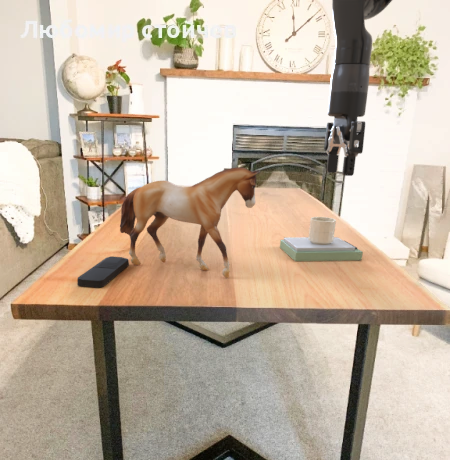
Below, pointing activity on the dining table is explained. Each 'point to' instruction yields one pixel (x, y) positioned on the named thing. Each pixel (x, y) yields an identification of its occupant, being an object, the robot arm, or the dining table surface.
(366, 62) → the robot arm
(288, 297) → the dining table surface
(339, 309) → the dining table surface
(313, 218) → the white ceramic cup
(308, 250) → the scale
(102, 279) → the remote control
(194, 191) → the horse figurine
